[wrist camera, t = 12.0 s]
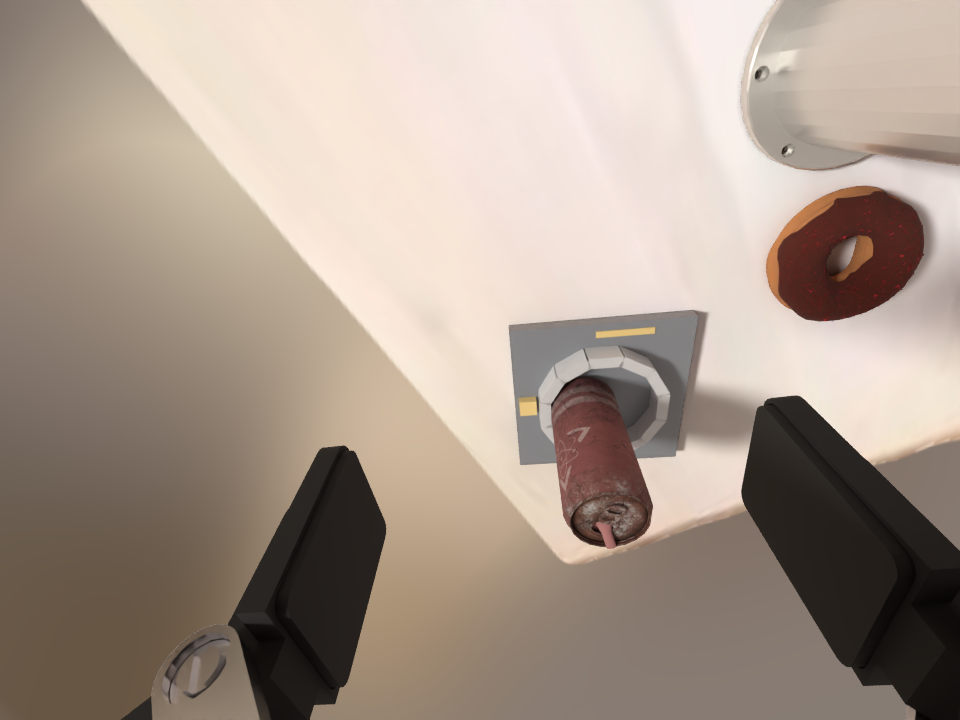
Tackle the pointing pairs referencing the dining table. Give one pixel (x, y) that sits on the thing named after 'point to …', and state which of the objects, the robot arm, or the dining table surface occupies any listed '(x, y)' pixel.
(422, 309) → the dining table surface
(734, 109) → the dining table surface
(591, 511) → the can
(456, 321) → the dining table surface
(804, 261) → the donut
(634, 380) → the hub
